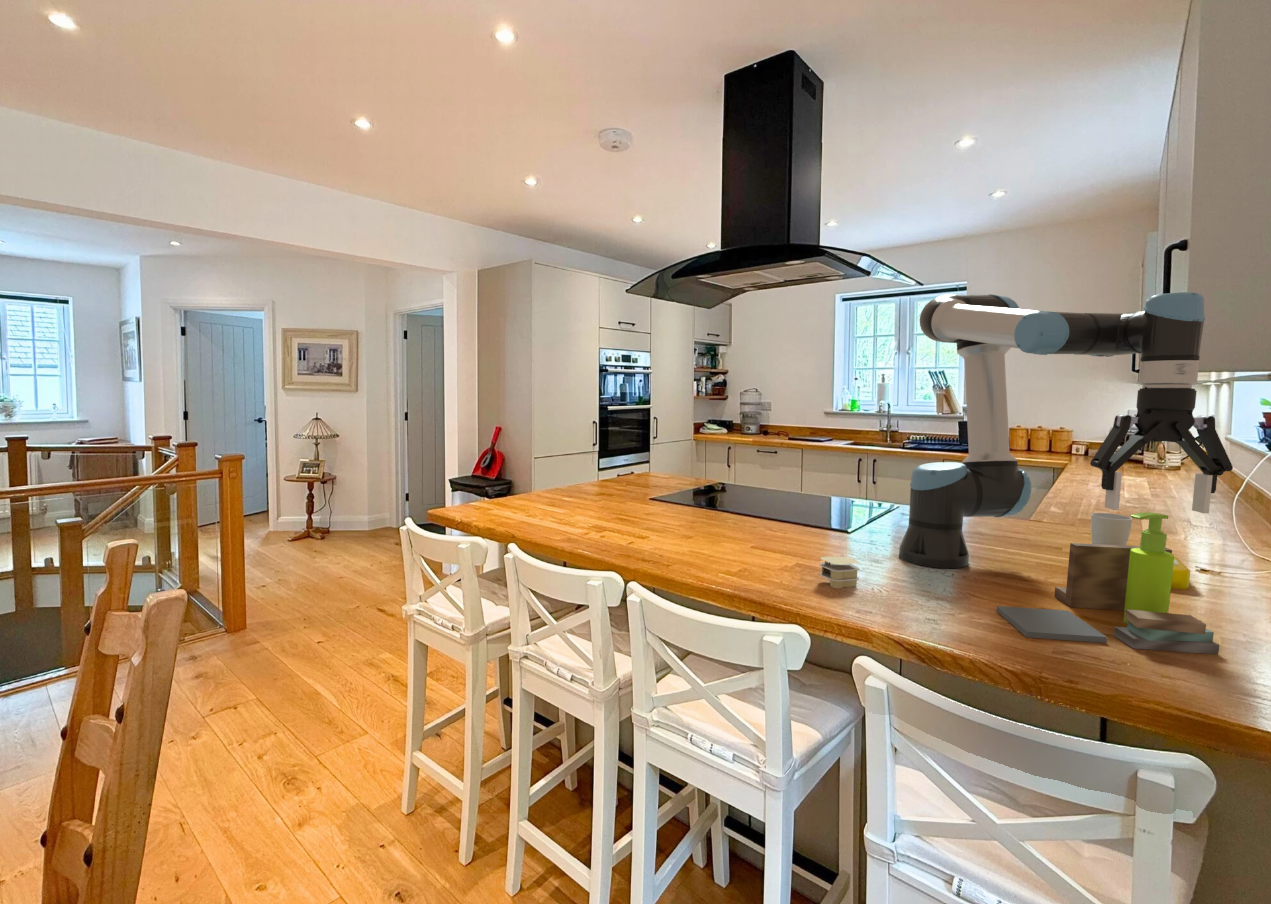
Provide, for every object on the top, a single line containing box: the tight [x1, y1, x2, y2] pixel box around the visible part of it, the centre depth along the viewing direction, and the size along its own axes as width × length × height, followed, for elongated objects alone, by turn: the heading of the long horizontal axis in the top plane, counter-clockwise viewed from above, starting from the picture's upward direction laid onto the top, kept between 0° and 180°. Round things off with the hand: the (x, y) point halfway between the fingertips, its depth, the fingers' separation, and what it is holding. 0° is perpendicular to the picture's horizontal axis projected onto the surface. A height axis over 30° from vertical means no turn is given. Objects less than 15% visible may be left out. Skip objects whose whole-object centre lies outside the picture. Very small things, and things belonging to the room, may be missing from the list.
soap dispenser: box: [1122, 511, 1175, 624], centre depth 106 cm, size 6×7×20 cm
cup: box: [1090, 512, 1133, 546], centre depth 151 cm, size 8×8×10 cm
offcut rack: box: [1053, 542, 1220, 655], centre depth 107 cm, size 16×25×12 cm, turn 170°
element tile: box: [1171, 556, 1191, 590], centre depth 135 cm, size 15×15×5 cm
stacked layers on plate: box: [819, 556, 861, 589], centre depth 127 cm, size 10×9×6 cm
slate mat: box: [995, 605, 1108, 644], centre depth 106 cm, size 12×12×1 cm
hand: (1155, 510), depth 104 cm, fingers open, 13 cm apart
